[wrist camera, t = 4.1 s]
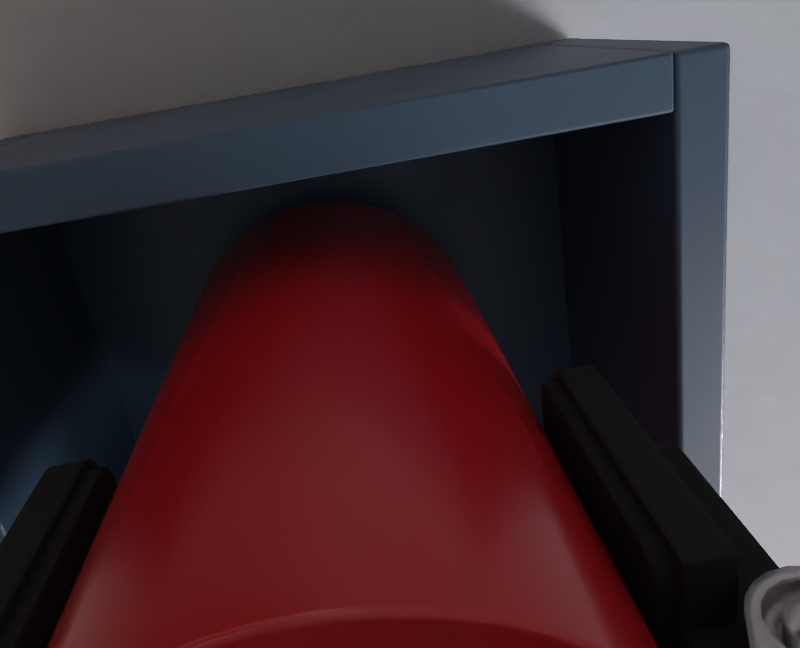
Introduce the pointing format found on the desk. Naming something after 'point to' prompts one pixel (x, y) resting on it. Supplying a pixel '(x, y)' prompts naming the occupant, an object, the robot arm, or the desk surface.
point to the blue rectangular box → (396, 192)
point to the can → (344, 468)
